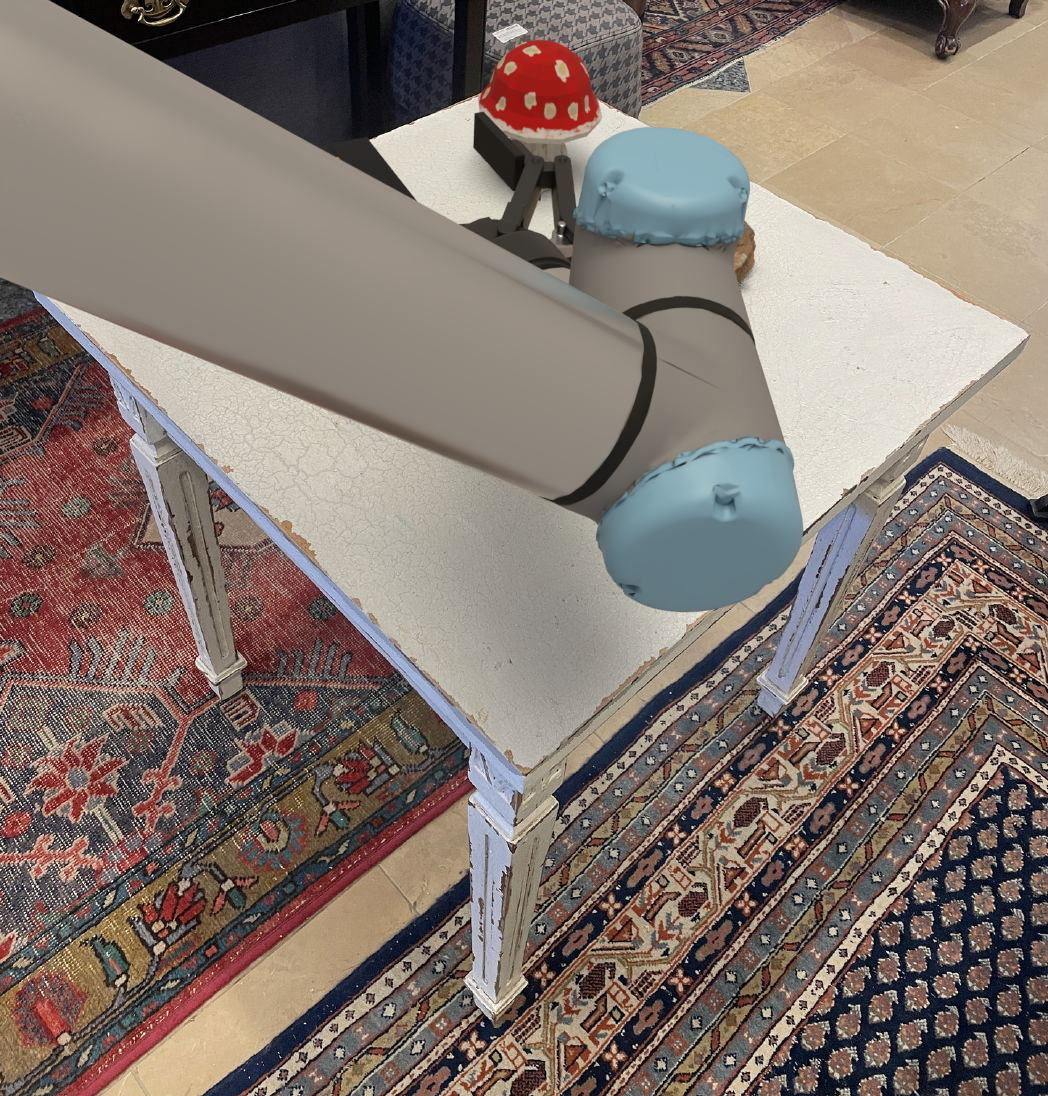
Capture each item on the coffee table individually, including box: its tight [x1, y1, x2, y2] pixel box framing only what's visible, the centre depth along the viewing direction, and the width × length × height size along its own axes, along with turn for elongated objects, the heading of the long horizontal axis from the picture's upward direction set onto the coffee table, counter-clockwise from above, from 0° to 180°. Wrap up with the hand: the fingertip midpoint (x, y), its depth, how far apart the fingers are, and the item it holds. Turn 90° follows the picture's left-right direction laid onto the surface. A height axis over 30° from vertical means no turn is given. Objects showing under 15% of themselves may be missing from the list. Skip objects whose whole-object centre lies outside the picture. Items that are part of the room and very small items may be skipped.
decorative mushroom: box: [477, 39, 603, 192], centre depth 106 cm, size 14×14×15 cm
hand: (394, 146), depth 70 cm, fingers open, 13 cm apart
